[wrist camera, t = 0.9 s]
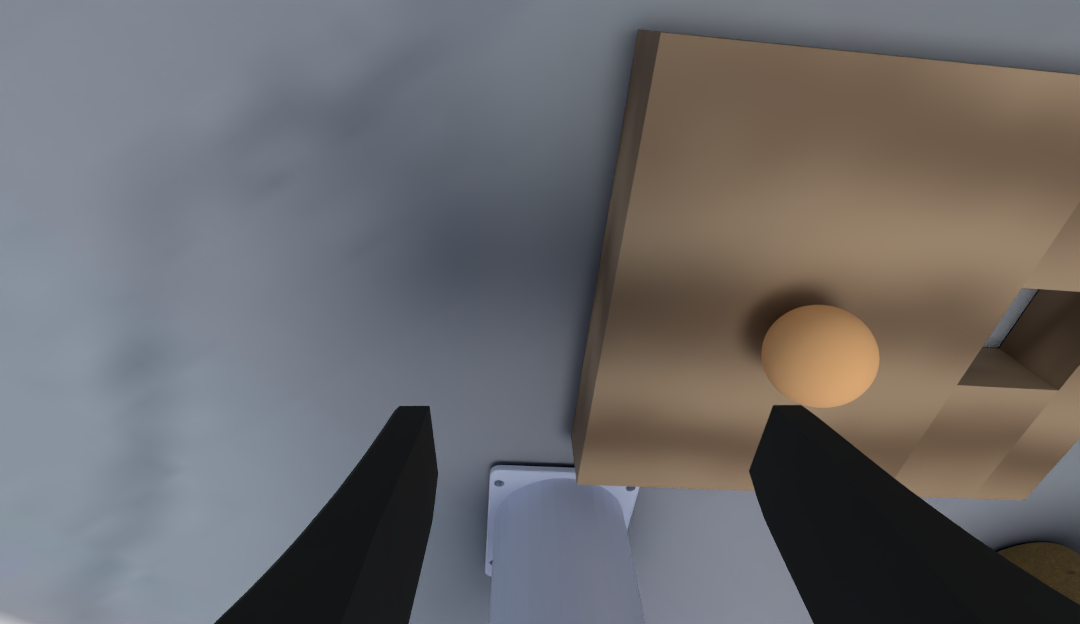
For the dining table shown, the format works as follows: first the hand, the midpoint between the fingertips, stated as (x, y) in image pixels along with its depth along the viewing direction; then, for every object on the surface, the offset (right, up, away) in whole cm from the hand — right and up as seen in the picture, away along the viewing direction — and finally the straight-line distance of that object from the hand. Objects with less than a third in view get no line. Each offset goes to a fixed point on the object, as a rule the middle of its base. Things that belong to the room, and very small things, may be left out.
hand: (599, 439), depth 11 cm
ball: (+8, +1, +6) cm, 11 cm away
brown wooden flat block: (+12, +3, +11) cm, 17 cm away
